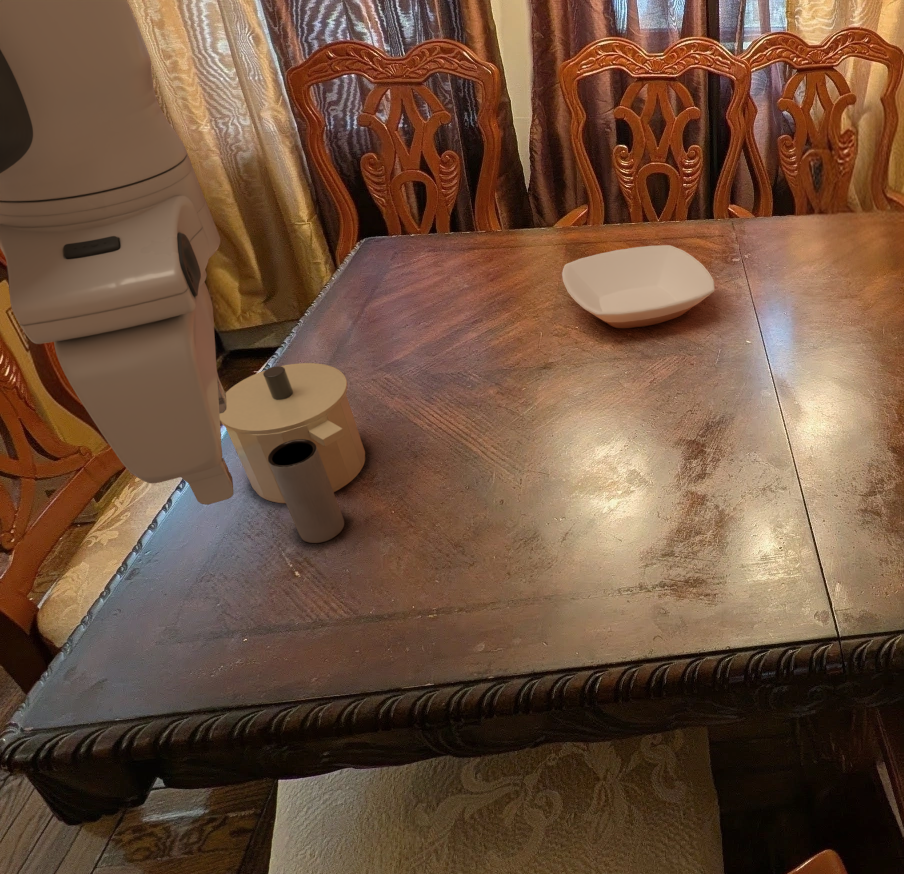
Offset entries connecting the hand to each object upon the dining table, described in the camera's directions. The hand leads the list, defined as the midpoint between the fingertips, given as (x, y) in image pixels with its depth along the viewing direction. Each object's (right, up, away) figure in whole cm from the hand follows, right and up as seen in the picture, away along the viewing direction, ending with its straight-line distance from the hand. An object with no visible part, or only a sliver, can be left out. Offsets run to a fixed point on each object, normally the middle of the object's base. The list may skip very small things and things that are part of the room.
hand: (215, 449), depth 48 cm
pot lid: (-16, +5, +40) cm, 44 cm away
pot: (-15, -3, +46) cm, 48 cm away
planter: (-10, -9, +37) cm, 40 cm away
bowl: (+21, +21, +76) cm, 82 cm away
